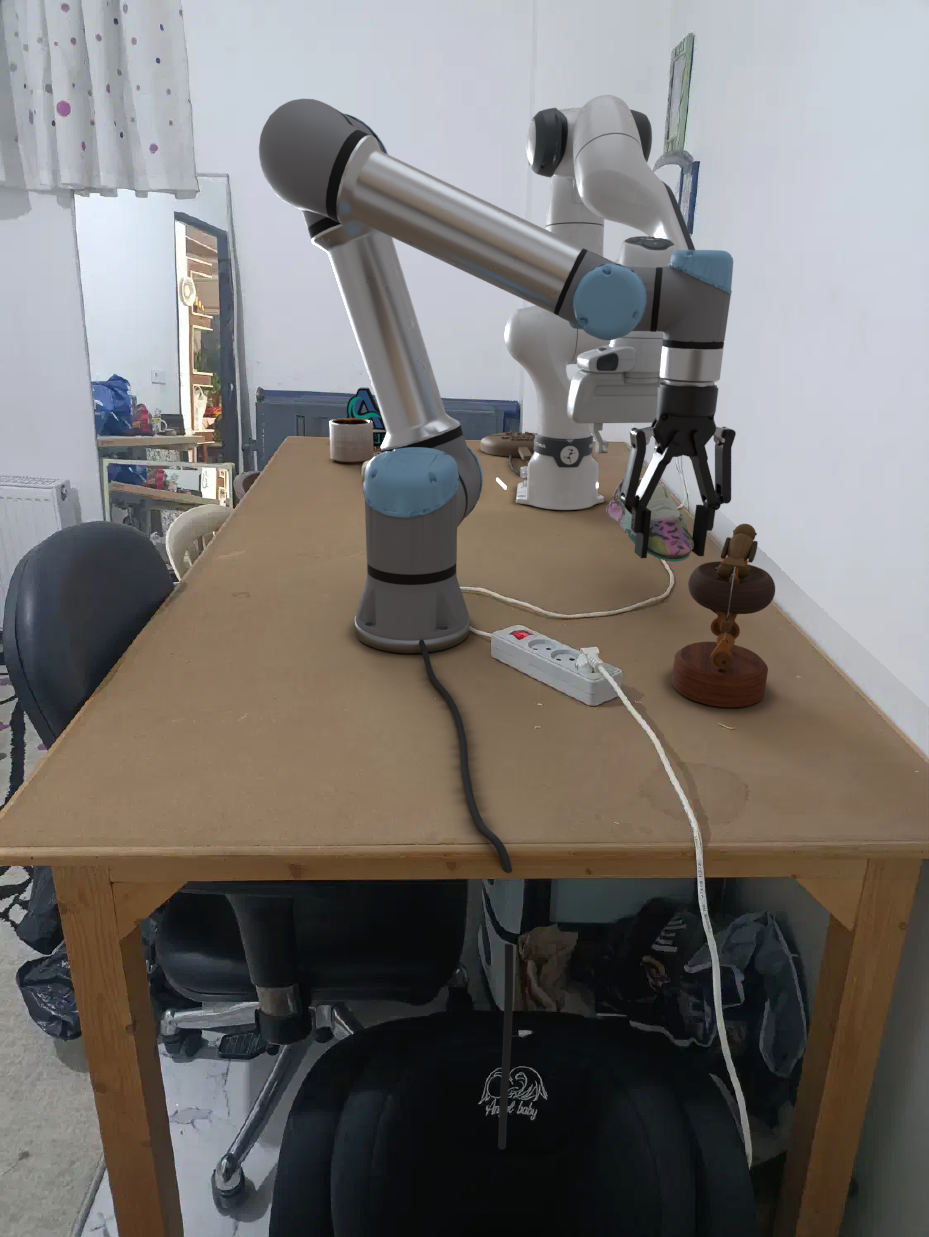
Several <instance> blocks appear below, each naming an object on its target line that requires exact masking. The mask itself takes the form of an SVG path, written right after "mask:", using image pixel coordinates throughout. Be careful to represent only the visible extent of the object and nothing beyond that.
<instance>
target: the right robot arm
mask: <svg viewBox="0 0 929 1237" xmlns="http://www.w3.org/2000/svg"><path fill="white" fill-rule="evenodd" d="M652 128H653V127H652V123H651V121H650V119H649V118H648V116H647V114H645V113H643V112H640V111H638V110H635V109H631V108H630V107H629V106H628V104H627V103H626V102H625V101H624V99H622V98H620V97H618V96H616V95H612V94H603V95H602V94H601V95H598V96H595V97H593V98H591V99H590V100H588V101H587V102H586V103H585V104H584V105H583V106H582V107H570V108H560V109H558V108H557V107H551V108H545V109H542V110H539V111H538V112H536V114H535V115H533V117H532V119H531V121H530V124H529V127H528V129H527V133H526V136H525V153H526V157H527V161H528V165H529V166H528V167H530V169H531V170H532V172H533V173H534V174H535V175H538V176H541V177H545V178H550V179H551V182H550V185H549V191H548V196H547V204H546V211H545V213H546V214H545V226H544V227H545V228H544V229H545V230H547V231H550V232H552V233H554V234H556V235H558V236H560V237H562V238H564V239H566V240H568V241H571V242H573V243H575V244H577V245H579V246H581V247H583V248H584V249H586V250H589V251H591V252H594V253H596V254H598V255H600V256H602V257H604V239H605V238H604V237H605V220H606V221H611V222H615V223H618V224H621V225H625V226H628V227H630V228H633V229H635V230H637V231H639V232H642V233H644V234H646V235H647V236H646V235H643V236H631V237H628V238H626V239H623V241H622V243H621V245H620V248H619V252H618V257H617V258H616V260H614V262H615V263H617V264H621V265H623V266H625V267H648V268H657V267H662V268H663V267H668V266H669V262H670V261H671V256H672V254H673V252H674V251H676V250H696V248H695V245H694V242H693V239H692V236H691V234H690V232H689V229H688V227H687V224H686V223H687V222H686V221H685V218H684V216H683V213H682V210H681V208H680V206H679V203H678V200H677V198H676V196H675V193H674V191H673V190H672V188H671V187H670V186H669V185H668V184H667V183H666V182H664V181H663V180H661V179H660V177H659V176H657V174H656V173H655V172H654V170H652V169H651V168H652V167H650V165H649V163H648V161H649V158H650V155H651V151H652V148H653V130H652ZM662 342H663V332H658V331H656V332H651V331H631V332H630V333H629V334H627V335H625V336H623V337H620V338H617V339H614V340H602V339H599V338H596V337H593V336H591V335H589V334H587V333H586V332H585V331H584V330H583V329H575V328H572V327H571V326H570V324H569V321H567V320H565V319H563V318H561V317H559V316H557V315H555V314H553V313H551V312H549V311H547V310H545V309H543V308H541V307H538V306H536V305H531V306H526V307H522V308H517V309H516V310H514V311H513V312H512V313H511V315H510V316H509V318H508V319H507V322H506V324H505V329H504V344H505V347H506V349H507V351H508V353H509V355H510V356H511V357H512V358H513V359H514V361H516V362H517V363H518V364H520V366H522V368H523V369H524V370H525V371H526V373H527V374H528V375H529V377H530V379H531V381H532V383H533V386H534V389H535V393H536V399H537V400H536V401H537V403H536V404H537V430H536V431H537V432H535V433H536V434H535V439H534V451H535V452H534V454H533V456H532V457H531V459H530V461H528V463H527V466H526V465H525V466H521V467H520V470H518V469H516V468H515V466H514V463H513V457H512V454H510V456H508V458H509V461H508V463H509V467H510V469H511V471H512V472H513V473H515V474H516V475H518V476H519V477H520V479H523V481H522V482H519V483H518V484H517V487H516V496H515V503H516V504H521V505H527V506H533V507H536V508H541V509H546V510H555V511H556V510H557V511H574V510H584V509H588V508H591V507H593V506H595V505H597V504H601V503H602V504H603V503H604V502H605V496H603V495H601V494H600V493H599V463H598V462H597V461H596V459H594V458H593V456H592V454H593V450H594V451H595V453H596V454H597V455H598V454H599V455H600V454H608V453H609V449H608V448H609V443H610V442H609V441H607V440H606V439H603V437H602V436H601V433H600V432H601V431H603V425H604V424H652V423H653V421H654V419H655V415H656V400H657V390H658V385H660V383H662V382H663V379H661V378H660V377H659V372H660V362H661V352H662V346H663V345H662ZM569 365H577V368H579V369H580V370H578V371H577V372H576V373H575V374H574V375H573V376H572V379H570V378H569V375H568V373H567V366H569ZM594 441H595V448H594ZM657 444H658V443H657V442H656V440H655V439H654V447H653V449H654V450H655V448H656V446H657ZM593 448H594V449H593ZM654 450H653V451H654ZM524 479H526V480H524ZM495 480H496V482H497V483H498V484H499V485H500V486H501V487H502V489H504V490H508V489H507V487H508V486H507V485H506V484H505V483H504V482H503V481H502V480H501V479H500V478H499V477H496V479H495Z"/></svg>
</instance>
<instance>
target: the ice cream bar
mask: <svg viewBox="0 0 929 1237" xmlns="http://www.w3.org/2000/svg"><path fill="white" fill-rule="evenodd" d="M536 433H537V432H529V431H524V432H517V431H516V432H513V431H508V432H505V431H504V432H497V433H493V434H490V435H486V436H483V438H482V439H481V440H480V448H479V449H480V451H481V452H483V453H486V454H488V455H493V456H500V457H509V456H510V454H512V458H513V457H514V458H515V457H517V458H519V457H520V458H521V460H522V461H525V462H529V461H530V459H531V457H532V456H533V454H534V452H535V451H534V439H535V434H536Z"/></svg>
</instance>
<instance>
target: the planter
mask: <svg viewBox="0 0 929 1237" xmlns="http://www.w3.org/2000/svg"><path fill="white" fill-rule="evenodd" d="M328 424H329V425H328V426H329V441H330V442H329V453H330V454H329V455H330V456H329V457H330V459H331V460H332V461H333V462H335V463H341V464H363V463H364V462H366V461H369V460H371V459H373V458H374V457H375V455H374V452H375V451H374V450H375V449H374V445H373V426H374V425H373V423H372V421H371V420H368V419H362V418H346V417H342V418H341V417H340V418H335V419H334V418H333V419H331V420H329V421H328Z"/></svg>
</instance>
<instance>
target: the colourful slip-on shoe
mask: <svg viewBox="0 0 929 1237" xmlns="http://www.w3.org/2000/svg"><path fill="white" fill-rule="evenodd" d="M623 479H624V477H623V478H622V479H621V480H620V482H619V484H618V485H617V486H616V487H615V490H614V492H613V495H612V498H611V500H610V501H609V502H608V504H607V506H606V509H605V512H606V515H608V516H609V517H610V519H611V520H613V521H614V522H616V523H618V524H619V526H620V528H621V530H622V531H623V533H625V534H626V536H627V538H628V539H629V540H630V541H631V542H632V543H633V544H634V545H635V541H636V533H635V532H633V531H632V529H631V518H632V507H631V506H627V505H625V504H624V503H623V502H622V501H620V499H619V496H620V492H621V488H622V483H623ZM642 479H643V477H640V479H639V483H638V487H639V485H640V483H641V481H642ZM638 487H637V489H638ZM646 508H648V509H649V510H650V511H651V521H650V530H649V540H648V549H647V554H649V555H650V556H653V557H654V558H656V559H659V560H662V561H666V562H682V561H685V560H687V559H689V557H690V555H691V553H692V549H693V547H694V541H693V539H692V535H691V532H690V531H689V529H688V527H687V524H685V520H684V516H683V514H681V513H680V512H679V508H678V506H677V503H676V502H675V500H674V498H673V496H672V494H671V492H670V491H669V489H668V488H667V486H666V485H663V486H662V485H660V484H659V485H657V487H656V489H655V491H654V493H653V495H652V497H651V499H650V501H649V503H648V505H647V507H646Z"/></svg>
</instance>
